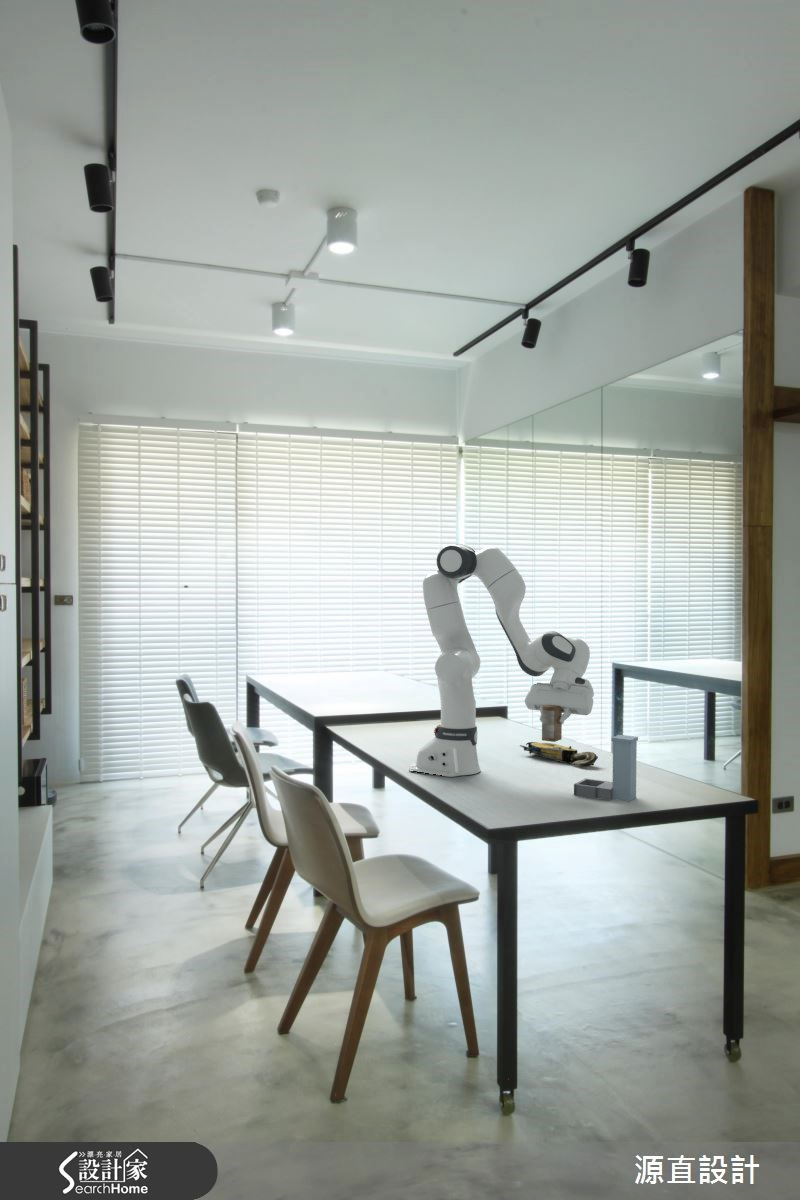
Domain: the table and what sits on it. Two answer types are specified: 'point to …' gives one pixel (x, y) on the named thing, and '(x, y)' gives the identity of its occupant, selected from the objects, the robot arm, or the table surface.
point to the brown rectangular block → (551, 723)
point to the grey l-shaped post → (615, 774)
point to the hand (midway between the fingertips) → (551, 721)
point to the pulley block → (561, 753)
